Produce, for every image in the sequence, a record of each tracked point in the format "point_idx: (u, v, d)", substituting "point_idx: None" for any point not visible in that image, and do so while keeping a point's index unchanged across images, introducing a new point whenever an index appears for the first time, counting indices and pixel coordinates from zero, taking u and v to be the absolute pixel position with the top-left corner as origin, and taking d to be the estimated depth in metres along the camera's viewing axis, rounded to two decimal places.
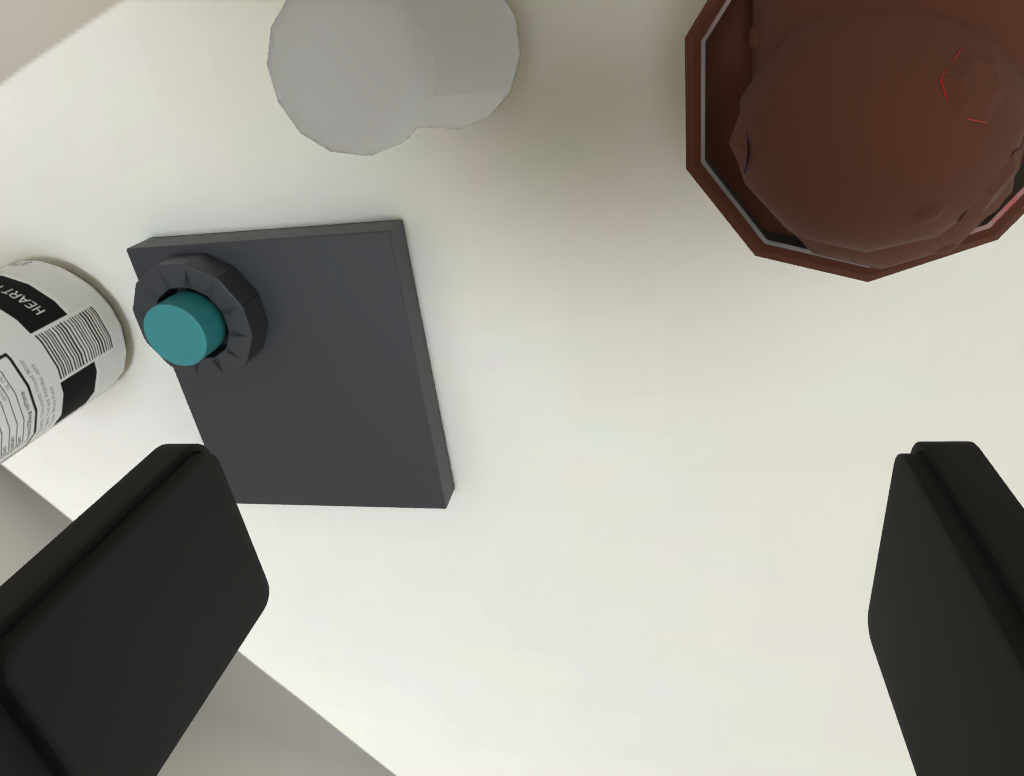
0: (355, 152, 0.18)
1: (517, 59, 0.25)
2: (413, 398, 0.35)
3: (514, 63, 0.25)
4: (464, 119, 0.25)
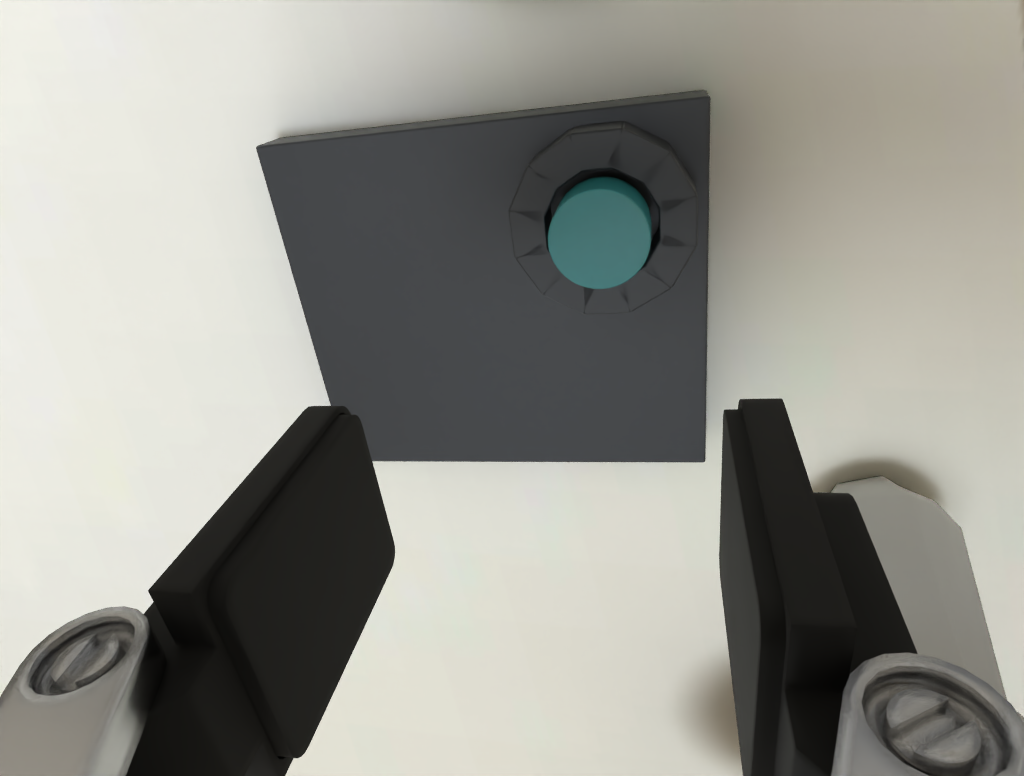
0: None
1: None
2: (496, 452, 0.29)
3: None
4: None
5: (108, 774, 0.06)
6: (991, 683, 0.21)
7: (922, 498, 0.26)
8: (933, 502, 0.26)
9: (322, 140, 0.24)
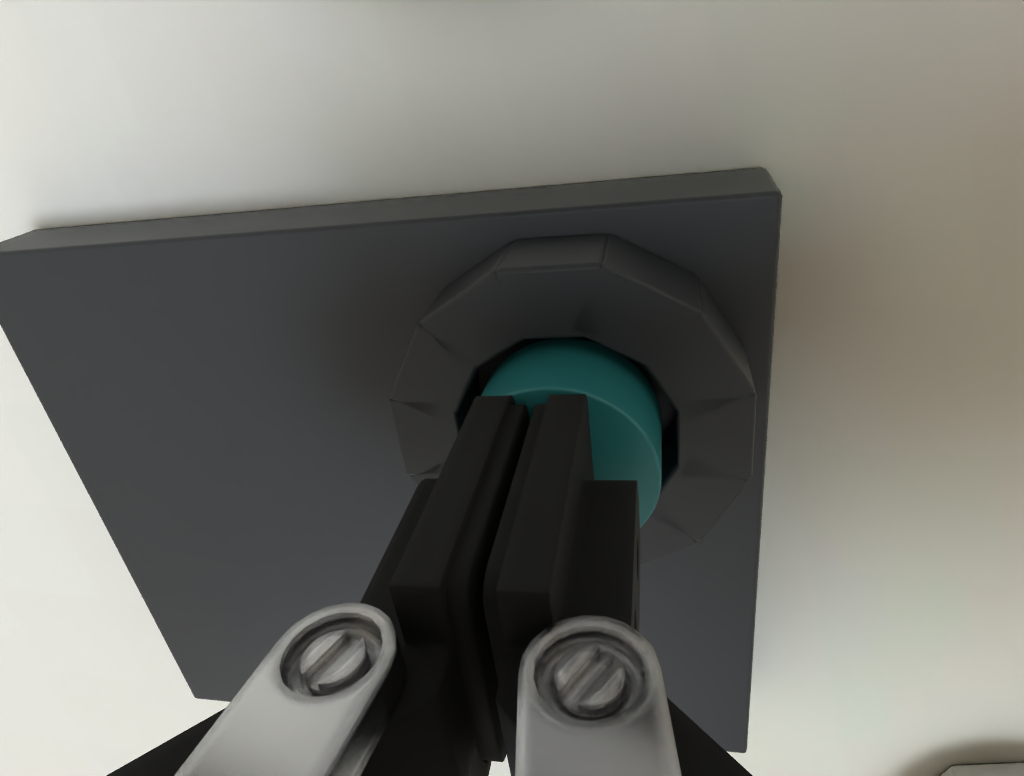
0: None
1: None
2: None
3: None
4: None
5: None
6: None
7: None
8: None
9: (70, 249, 0.13)
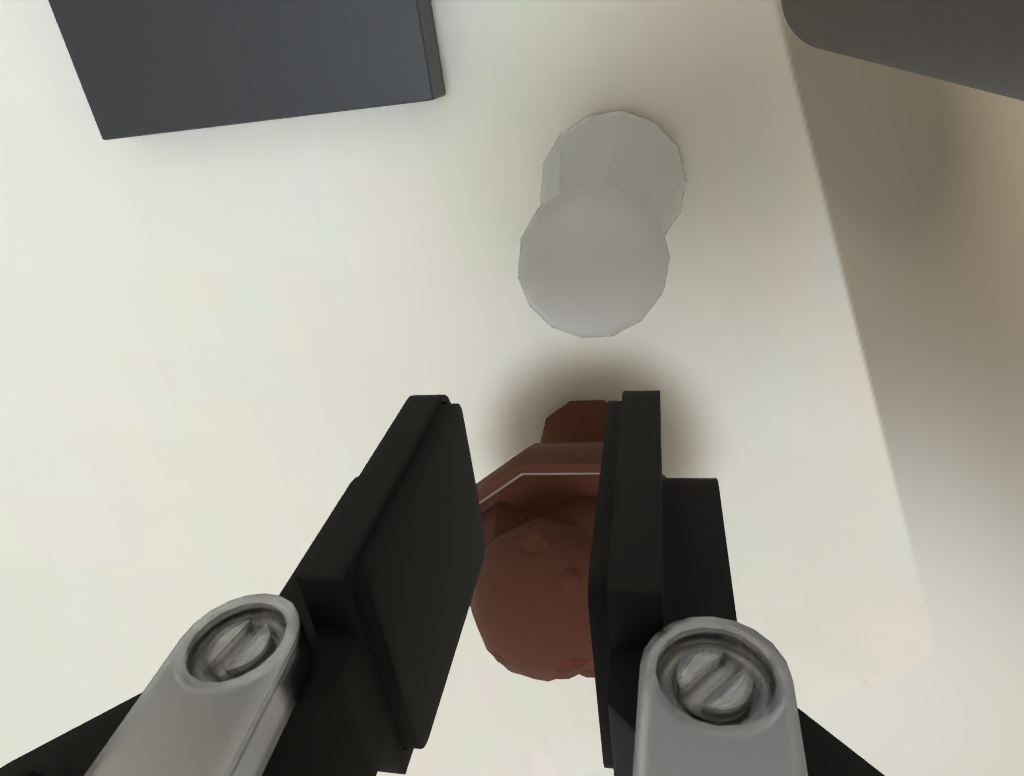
0: (520, 273, 0.19)
1: None
2: (238, 109, 0.29)
3: None
4: None
5: None
6: None
7: (638, 116, 0.26)
8: (649, 120, 0.26)
9: None
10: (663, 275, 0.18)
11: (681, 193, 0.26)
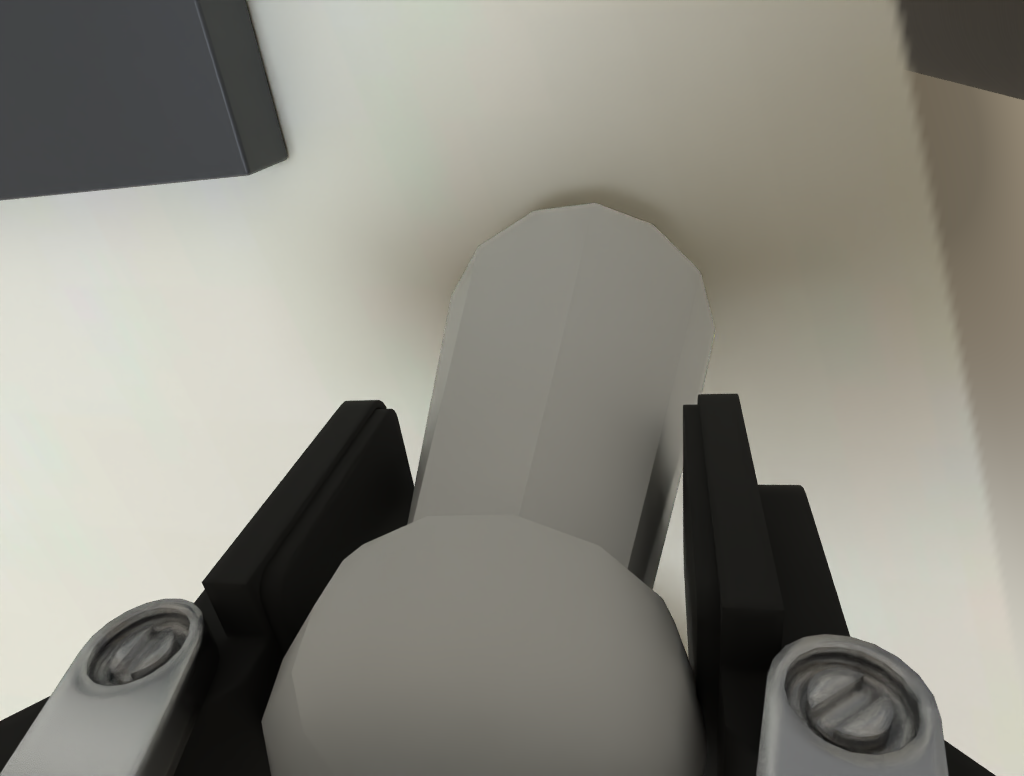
0: None
1: None
2: None
3: None
4: None
5: (156, 773, 0.06)
6: (603, 499, 0.08)
7: (625, 215, 0.14)
8: (647, 223, 0.14)
9: None
10: None
11: (707, 359, 0.14)
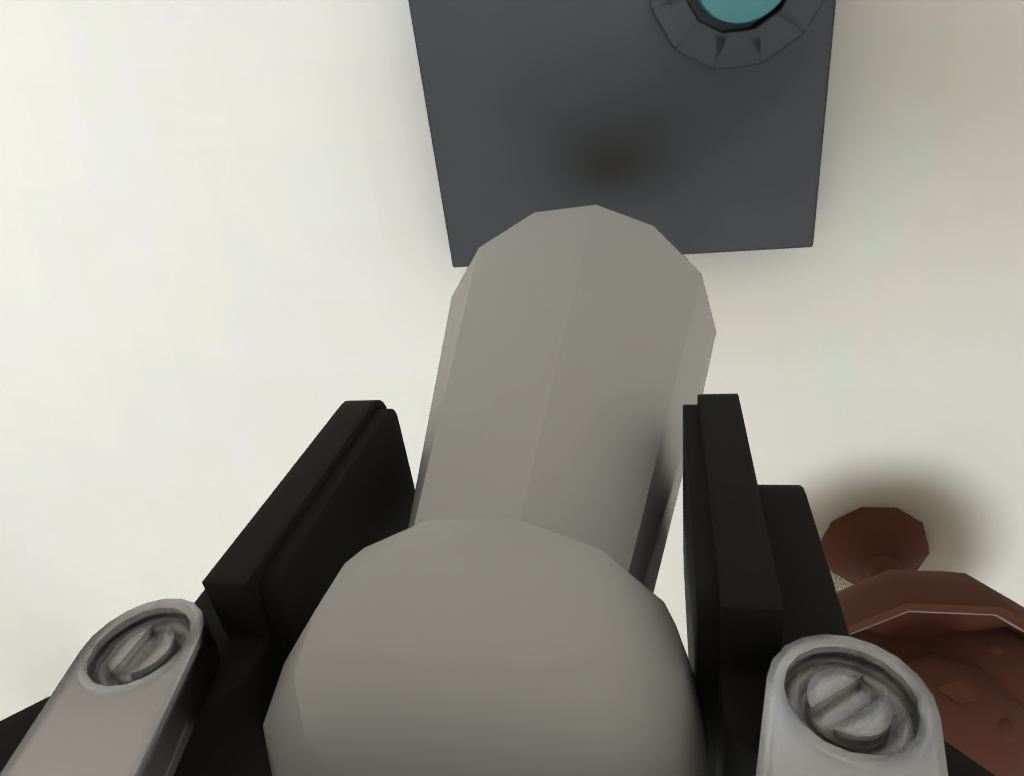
0: None
1: None
2: None
3: None
4: None
5: (156, 772, 0.06)
6: (604, 502, 0.08)
7: (626, 217, 0.14)
8: (648, 225, 0.14)
9: None
10: None
11: (708, 361, 0.14)
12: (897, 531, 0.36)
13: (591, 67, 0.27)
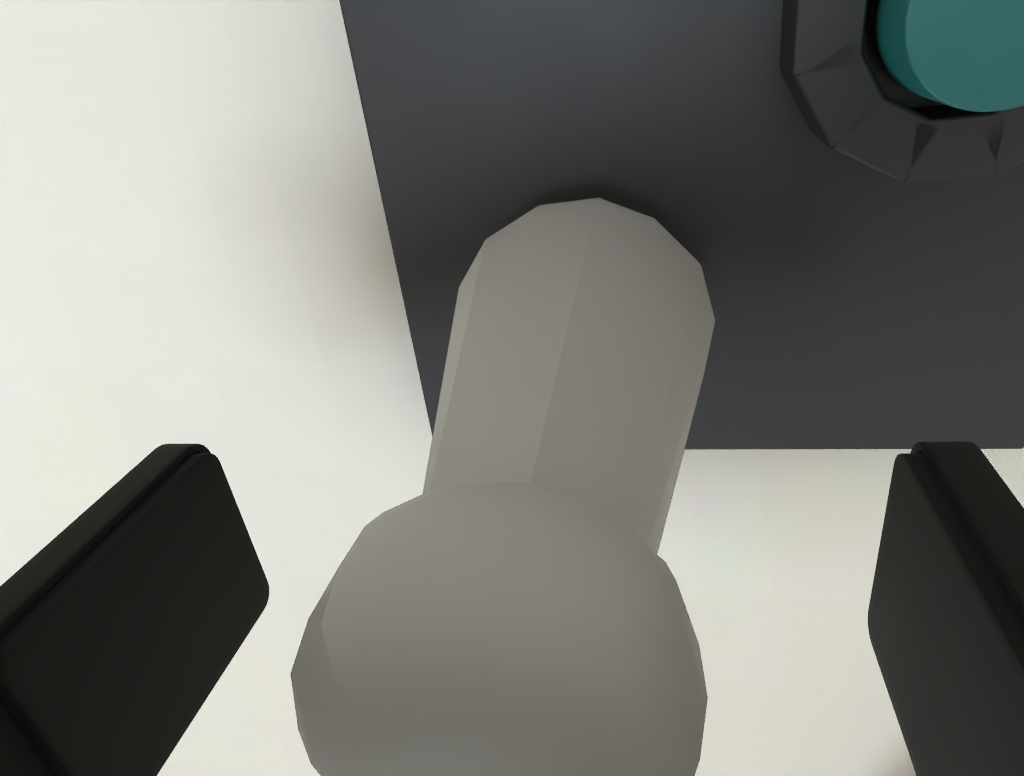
0: (300, 729, 0.07)
1: None
2: None
3: None
4: None
5: None
6: (608, 473, 0.08)
7: (627, 209, 0.14)
8: (649, 217, 0.14)
9: None
10: None
11: (707, 349, 0.14)
12: None
13: (666, 165, 0.16)
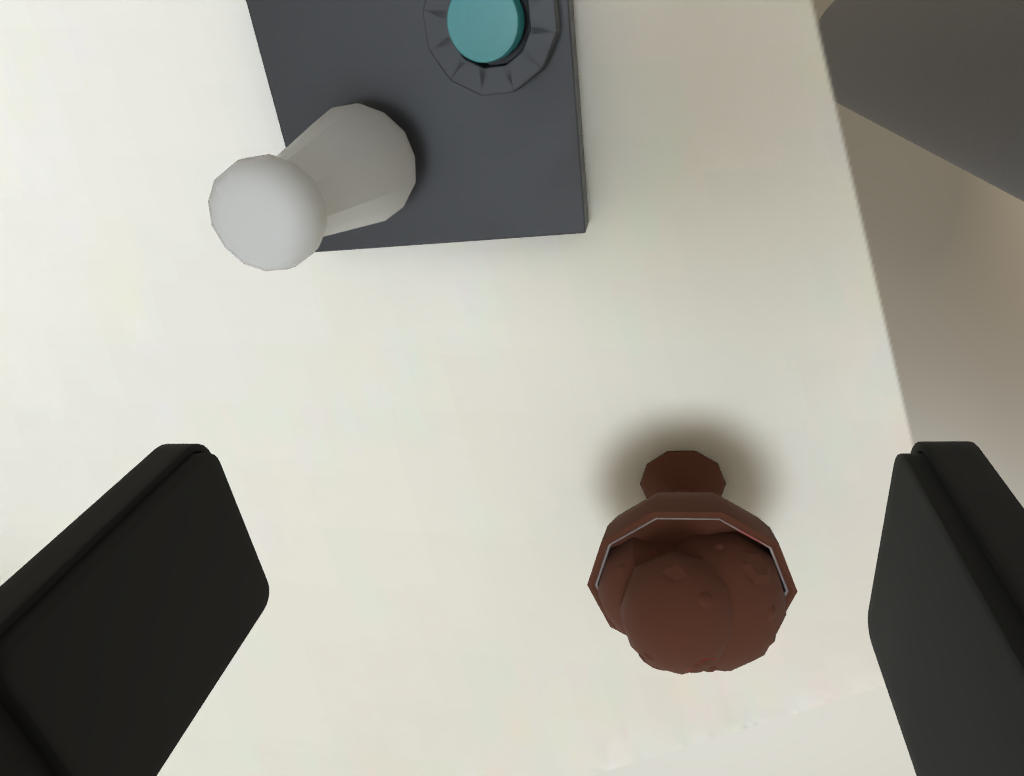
0: (211, 221, 0.26)
1: None
2: (428, 234, 0.38)
3: None
4: None
5: None
6: (312, 170, 0.27)
7: (371, 108, 0.33)
8: (380, 111, 0.33)
9: None
10: (308, 221, 0.25)
11: (407, 169, 0.33)
12: (694, 469, 0.43)
13: (400, 92, 0.34)
